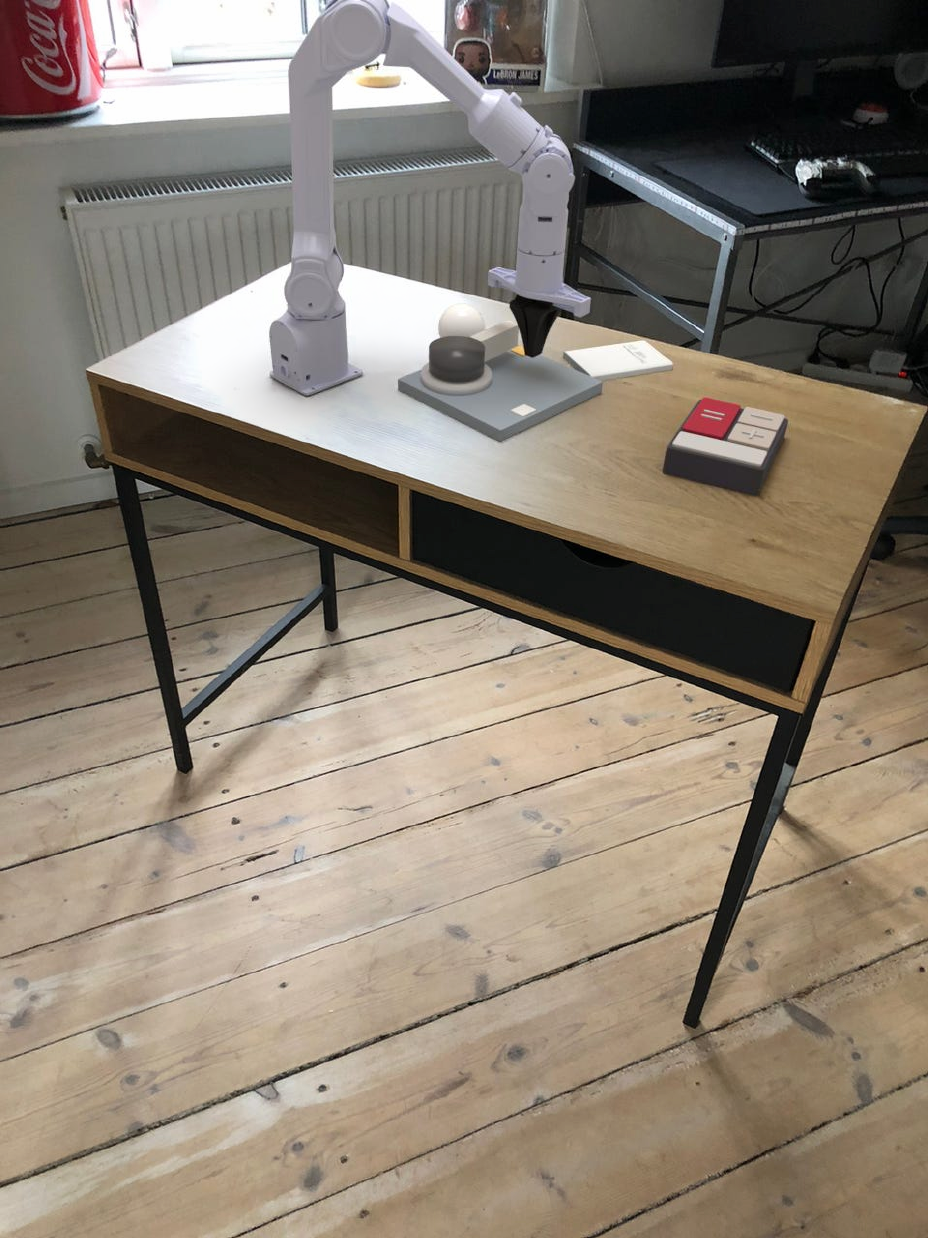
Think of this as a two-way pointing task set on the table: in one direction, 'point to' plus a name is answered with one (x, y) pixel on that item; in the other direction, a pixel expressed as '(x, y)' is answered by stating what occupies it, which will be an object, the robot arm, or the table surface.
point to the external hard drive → (618, 360)
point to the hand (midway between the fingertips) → (533, 353)
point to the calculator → (726, 446)
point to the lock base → (505, 393)
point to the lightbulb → (461, 321)
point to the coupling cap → (470, 352)
